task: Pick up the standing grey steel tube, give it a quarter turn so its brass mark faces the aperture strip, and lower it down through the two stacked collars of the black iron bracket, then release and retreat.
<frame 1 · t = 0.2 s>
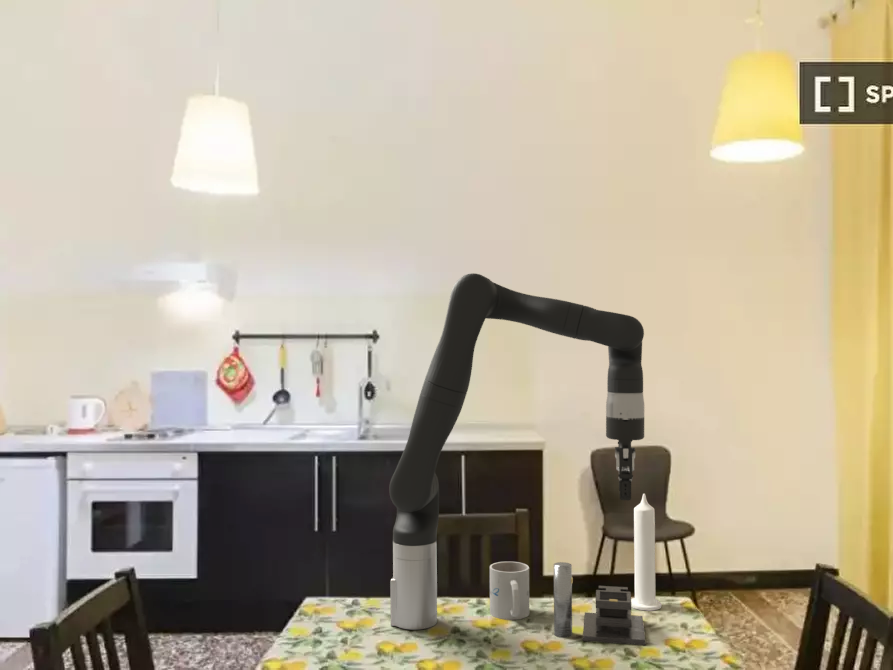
hand: (624, 495, 159), 28 cm above the table, fingers open, 8 cm apart
tube: (563, 634, 160), on the table
candle: (645, 606, 177), on the table
bracket: (613, 630, 162), on the table
mug: (509, 616, 172), on the table
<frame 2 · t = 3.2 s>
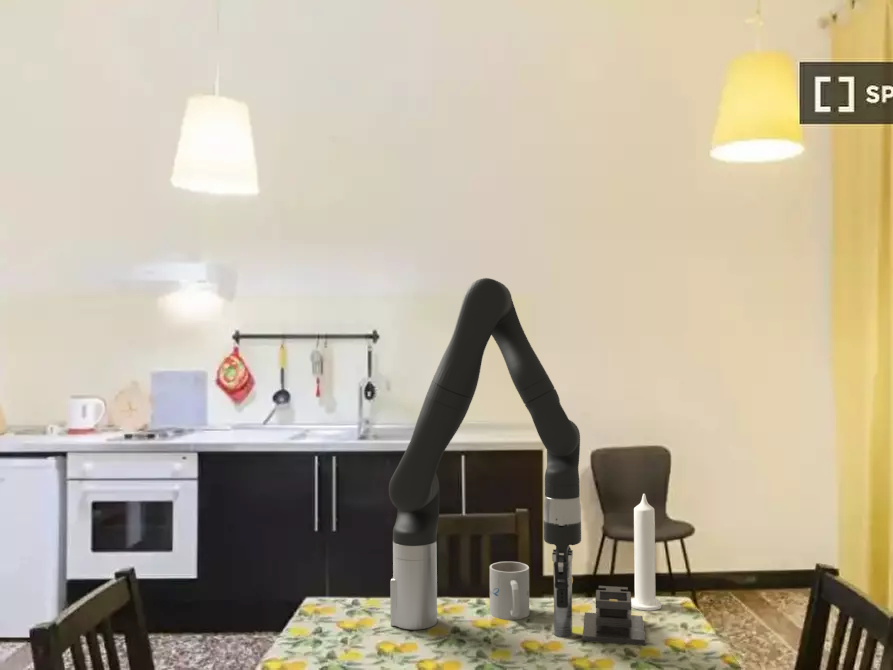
hand: (562, 603, 160), 6 cm above the table, fingers closed on tube, 3 cm apart
tube: (563, 634, 160), on the table, touching gripper
everything else where it was.
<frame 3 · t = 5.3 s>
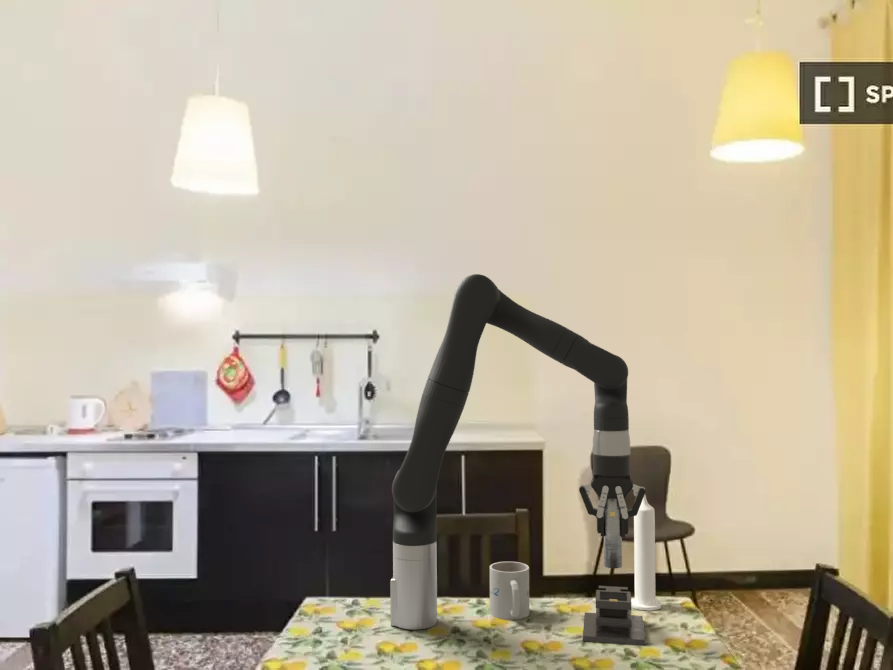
hand: (612, 535, 162), 19 cm above the table, fingers closed on tube, 3 cm apart
tube: (613, 565, 162), point 13 cm above the table, touching gripper
everything else where it was.
when the fingers open (8 cm above the table, at t = 7.5 s): tube stays where it is, resting on bracket.
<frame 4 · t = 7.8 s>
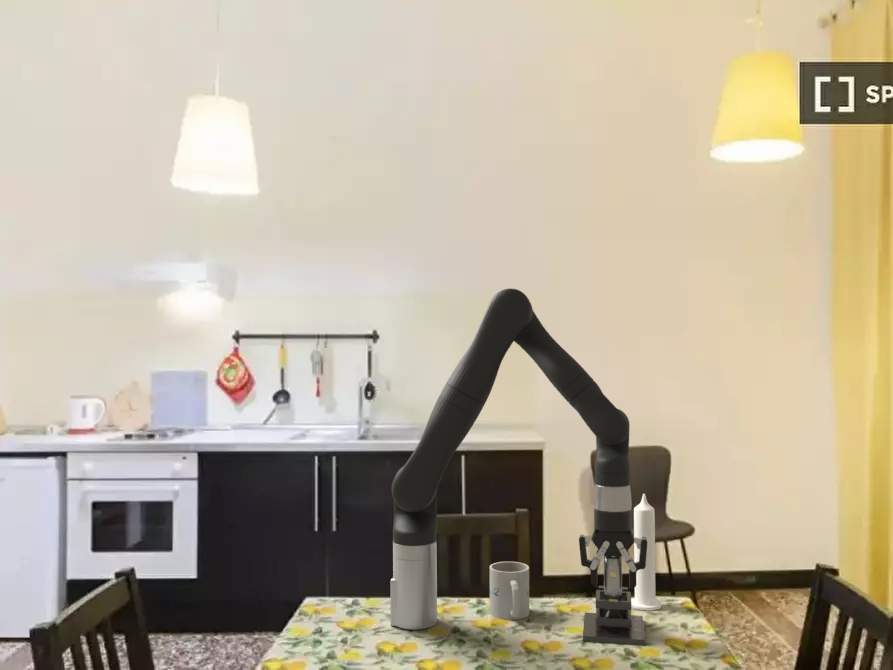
hand: (613, 587, 162), 9 cm above the table, fingers open, 6 cm apart
tube: (613, 625, 162), point 1 cm above the table, touching bracket
everything else where it was.
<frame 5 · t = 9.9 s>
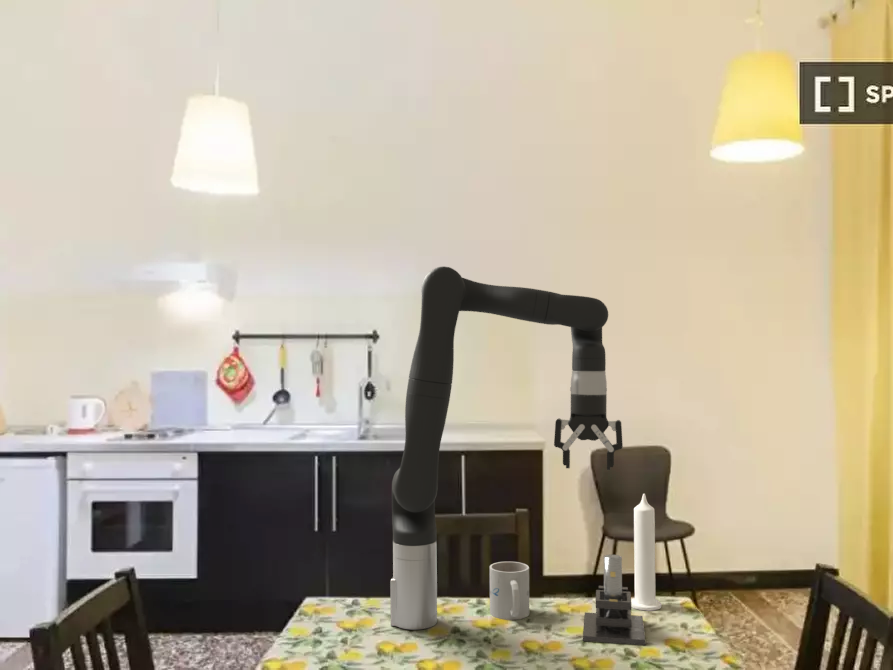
hand: (588, 468, 168), 32 cm above the table, fingers open, 8 cm apart
nothing on the table moved.
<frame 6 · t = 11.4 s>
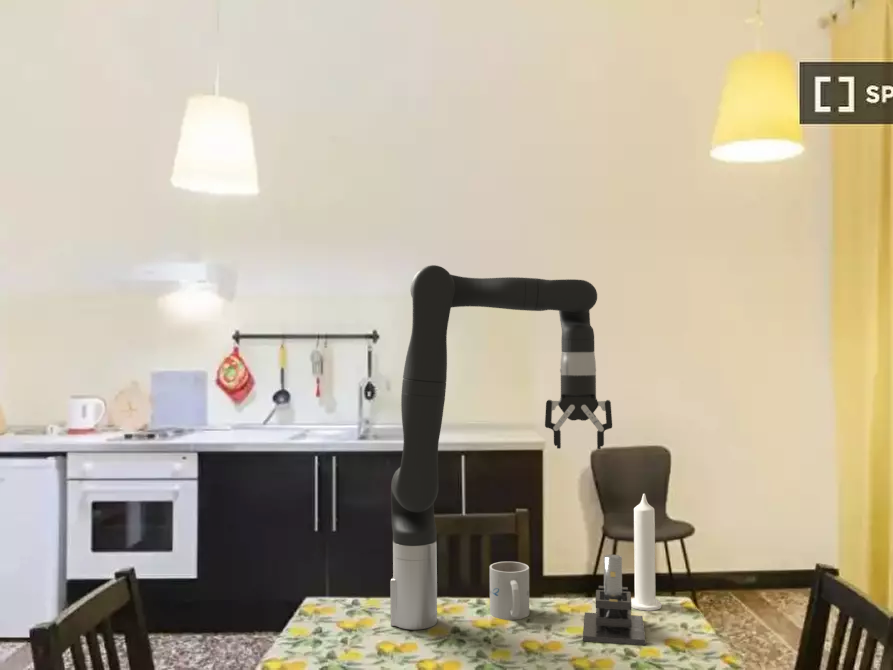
hand: (578, 448, 171), 36 cm above the table, fingers open, 8 cm apart
nothing on the table moved.
at the end: tube 0.1 cm off-centre on the bracket, point 1.0 cm above the bracket's base; tube tilted 0°; the gripper is holding nothing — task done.
